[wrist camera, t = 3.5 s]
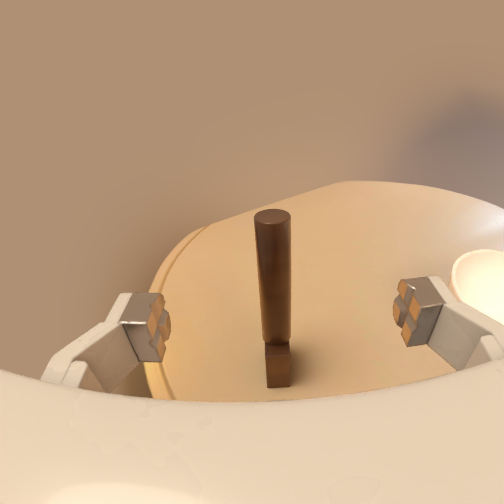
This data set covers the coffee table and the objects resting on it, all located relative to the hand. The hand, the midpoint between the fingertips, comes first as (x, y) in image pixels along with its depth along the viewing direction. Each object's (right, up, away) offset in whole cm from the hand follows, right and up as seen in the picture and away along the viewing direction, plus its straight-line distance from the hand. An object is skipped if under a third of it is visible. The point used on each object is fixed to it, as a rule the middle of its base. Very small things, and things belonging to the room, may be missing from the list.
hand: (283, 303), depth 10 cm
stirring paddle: (+2, -10, +20) cm, 23 cm away
